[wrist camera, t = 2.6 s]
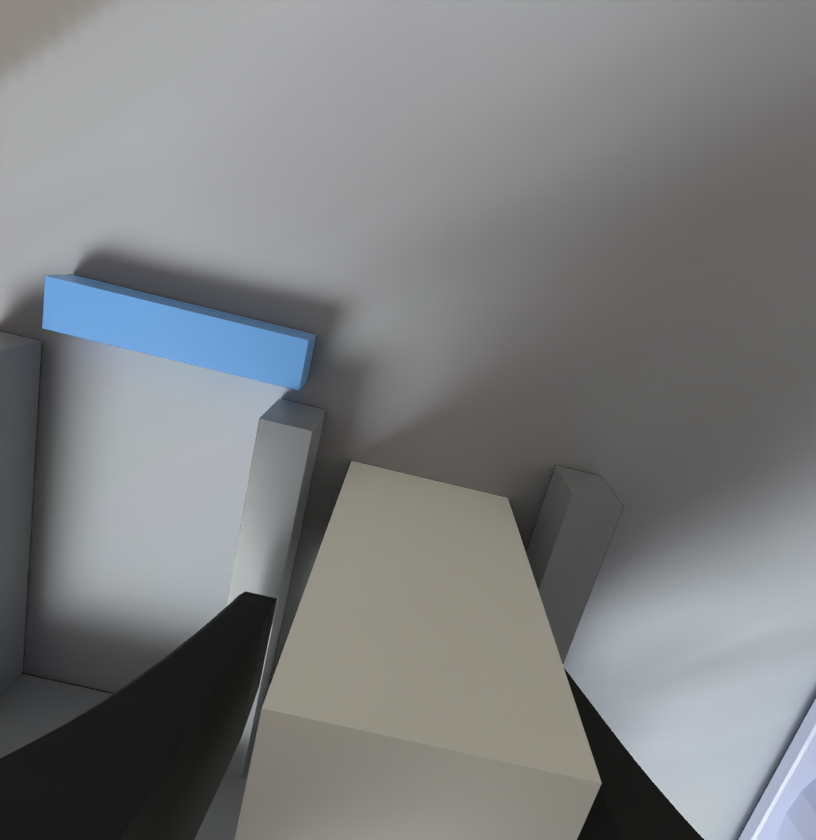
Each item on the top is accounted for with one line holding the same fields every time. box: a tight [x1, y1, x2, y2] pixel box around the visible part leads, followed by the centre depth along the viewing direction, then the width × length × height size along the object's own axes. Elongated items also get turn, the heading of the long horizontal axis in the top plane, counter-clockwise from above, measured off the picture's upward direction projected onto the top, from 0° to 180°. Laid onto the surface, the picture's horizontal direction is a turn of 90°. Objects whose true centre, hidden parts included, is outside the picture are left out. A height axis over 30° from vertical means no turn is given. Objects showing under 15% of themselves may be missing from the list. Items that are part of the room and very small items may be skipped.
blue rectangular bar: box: [42, 274, 316, 390], centre depth 11 cm, size 5×1×1 cm, turn 76°
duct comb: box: [0, 331, 624, 840], centre depth 12 cm, size 13×10×3 cm
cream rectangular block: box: [235, 461, 602, 840], centre depth 10 cm, size 4×6×7 cm, turn 166°
